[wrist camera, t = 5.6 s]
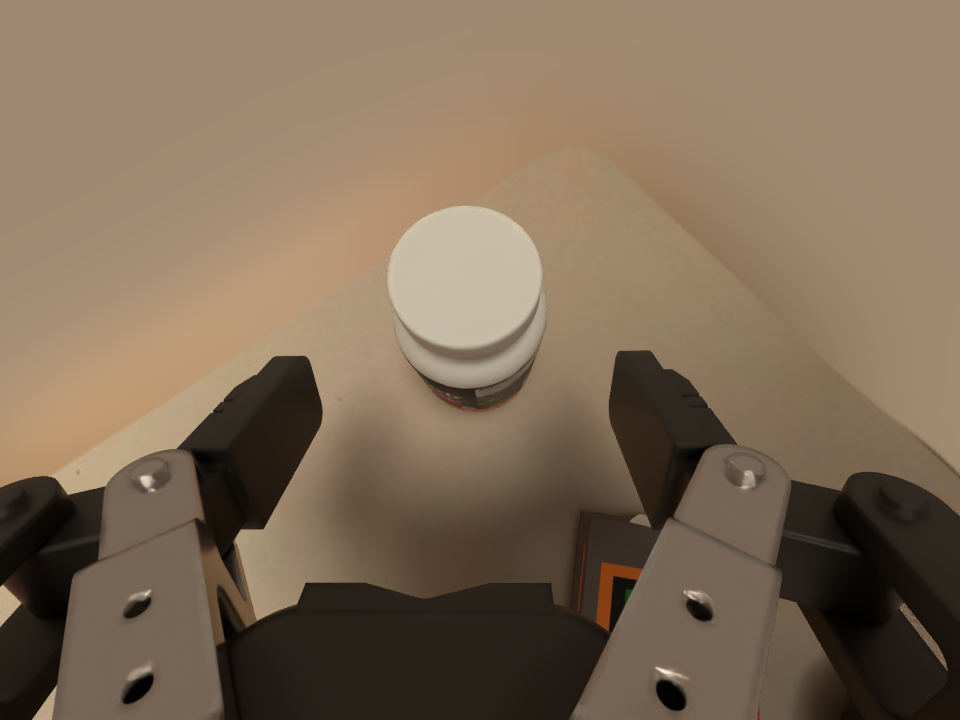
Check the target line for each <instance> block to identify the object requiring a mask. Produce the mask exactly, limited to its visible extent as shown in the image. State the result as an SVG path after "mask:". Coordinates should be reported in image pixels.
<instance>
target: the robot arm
mask: <svg viewBox="0 0 960 720" xmlns="http://www.w3.org/2000/svg"><path fill="white" fill-rule="evenodd" d="M322 413H323V411H322V403H321V400H320V396H319V392H318V389H317V385H316V382H315V378H314V374H313V371H312V367H311V364H310V361H309V360H308V358H307V357H305V356H275V357H273V358H272V359H271V360H270V361H269V362H268V363H267V364H266V365H265V367H264V368H263V369H262V370H261V371H260V372H259V373H258V374H257V375H254V376H252V377H251V378H249V379H247V380H246V381H244V382H243V383H241V384H239V385H238V386H236V387H235V388H234V389H233V390H232V391H231V392H230V393H229V394H228V395H227V396H226V397H225V399H224V402H221V403H220V404H219V405H218V406H217V407H216V408H215V409H214V410H213V413H210V414H209V415H208V416H207V417H206V419H205V420H204V421H203V422H202V423H201V424H200V425H199V426H198V427H197V428H196V429H195V430H194V431H193V432H192V433H191V434H190V435H189V436H188V437H187V439H186V440H185V441H184V442H183V443H182V444H181V445H180V446H179V447H178V448H177V449H171V450H164V451H159V452H156V453H152V454H149V455H147V456H144V457H142V458H140V459H138V460H136V461H134V462H132V463H130V464H129V465H127V466H126V467H124V468H123V469H121V470H120V471H119V472H118V473H116V474H115V475H114V476H113V477H112V478H111V480H110V481H109V482H108V484H107V485H106V487H101V488H97V489H92V490H88V491H83V492H79V493H75V494H70V495H68V494H67V493H66V492H65V490H64V489H63V488H62V486H61V485H60V484H59V482H58V481H57V480H56V479H55V478H52V477H48V476H40V477H32V478H27V479H24V480H20V481H17V482H14V483H11V484H9V485H6V486H3V487H1V488H0V587H1V586H2V585H4V586H5V587H6V588H7V589H8V590H9V591H10V592H11V593H12V594H13V595H14V596H15V597H16V598H17V599H18V600H19V601H20V602H21V603H22V604H21V605H20V606H19V607H18V608H17V609H16V610H15V611H14V613H13V614H12V615H11V616H10V617H9V618H8V619H7V620H6V621H5V622H4V624H3V625H2V626H1V627H0V720H32V719H33V717H34V716H35V714H36V713H37V712H38V710H39V709H40V707H41V706H42V705H43V703H44V702H45V701H46V699H47V698H48V696H49V695H50V694H51V692H52V691H53V689H54V688H55V687H56V685H57V689H56V696H55V704H54V711H53V718H52V720H756V719H757V713H758V708H759V703H760V697H761V692H762V686H763V681H764V675H765V670H766V664H767V659H768V653H769V648H770V642H771V637H772V631H773V626H774V620H775V615H776V609H777V604H778V598H779V597H780V598H783V599H787V600H790V601H793V602H797V604H798V606H799V607H800V609H801V611H802V613H803V614H804V616H805V618H806V620H807V621H808V623H809V625H810V627H811V629H812V630H813V632H814V634H815V636H816V637H817V639H818V641H819V643H820V644H821V646H822V648H823V650H824V651H825V653H826V655H827V657H828V658H829V660H830V662H831V664H832V665H833V667H834V669H835V671H836V672H837V674H838V676H839V678H840V679H841V681H842V683H843V685H844V686H845V688H846V690H847V692H848V693H849V695H850V697H851V699H852V700H853V702H854V704H855V706H856V707H857V709H858V711H859V713H860V715H861V716H862V718H863V720H960V516H959V515H958V514H957V513H956V512H954V511H953V510H952V509H951V508H950V507H949V506H948V505H947V504H945V503H944V502H943V501H942V500H941V499H939V498H938V497H936V496H935V495H933V494H932V493H930V492H928V491H927V490H925V489H923V488H921V487H919V486H917V485H915V484H913V483H911V482H908V481H906V480H903V479H901V478H898V477H895V476H891V475H887V474H882V473H876V472H860V473H856V474H853V475H851V476H850V477H849V478H848V480H847V481H846V483H845V485H844V487H843V488H842V490H841V491H839V490H835V489H830V488H825V487H820V486H816V485H811V484H806V483H802V482H797V481H793V480H790V478H789V476H788V474H787V473H786V471H785V470H784V469H783V468H782V467H781V466H780V465H779V464H778V463H777V462H775V461H774V460H773V459H771V458H770V457H768V456H766V455H765V454H763V453H761V452H759V451H756V450H754V449H751V448H748V447H744V446H740V445H738V444H737V443H736V442H735V441H734V439H733V438H732V437H731V435H730V434H729V433H728V431H727V430H726V429H725V427H724V426H723V425H722V423H721V422H720V421H719V419H718V418H717V417H716V415H715V414H714V413H713V411H712V410H711V409H710V408H708V405H707V404H706V402H705V401H704V400H703V398H702V397H699V393H698V392H697V390H696V389H695V388H694V386H693V385H692V384H691V382H690V381H689V380H687V379H686V378H684V377H683V376H681V375H680V374H678V373H677V372H675V371H674V370H672V369H663V368H662V366H661V365H660V363H659V362H658V361H657V359H656V358H655V356H654V355H653V353H652V352H651V351H649V350H646V351H619V352H618V353H617V355H616V359H615V365H614V372H613V378H612V385H611V392H610V398H609V418H610V423H611V426H612V429H613V431H614V434H615V436H616V439H617V441H618V444H619V446H620V449H621V451H622V454H623V457H624V459H625V462H626V464H627V467H628V469H629V472H630V474H631V477H632V479H633V482H634V485H635V487H636V490H637V492H638V495H639V497H640V500H641V502H642V505H643V507H644V510H645V513H646V515H647V518H648V520H649V523H650V525H651V528H652V530H662V531H661V533H660V535H659V537H658V539H657V541H656V543H655V545H654V547H653V549H652V551H651V554H650V556H649V558H648V560H647V562H646V564H645V566H644V568H643V570H642V572H641V574H640V576H639V578H638V580H637V582H636V584H635V586H634V589H633V591H632V593H631V595H630V597H629V599H628V601H627V603H626V605H625V607H624V609H623V611H622V613H621V615H620V617H619V619H618V621H617V624H616V626H615V628H614V630H613V632H612V634H611V633H610V632H609V631H607V630H606V629H605V628H603V627H602V626H600V625H599V624H598V623H596V622H595V621H593V620H591V619H589V618H587V617H586V616H584V615H582V614H580V613H578V612H575V611H573V610H571V609H568V608H566V607H563V606H559V605H556V604H554V603H553V595H552V588H551V583H488V584H484V585H480V586H477V587H473V588H469V589H465V590H461V591H457V592H453V593H449V594H445V595H441V596H437V597H434V598H429V599H422V598H417V597H413V596H410V595H406V594H403V593H399V592H396V591H392V590H389V589H385V588H382V587H378V586H375V585H371V584H367V583H306V584H305V586H304V589H303V591H302V594H301V596H300V599H299V601H298V604H297V605H293V606H290V607H287V608H284V609H282V610H279V611H276V612H274V613H272V614H270V615H268V616H266V617H264V618H262V619H260V620H258V621H257V619H256V616H255V613H254V609H253V605H252V601H251V597H250V593H249V589H248V585H247V581H246V577H245V573H244V569H243V565H242V561H241V557H240V553H239V549H238V546H237V544H236V542H235V540H234V539H235V538H236V536H237V534H238V533H239V531H240V530H241V529H264V527H265V525H266V524H267V522H268V520H269V518H270V516H271V515H272V513H273V511H274V509H275V507H276V506H277V504H278V502H279V500H280V498H281V496H282V495H283V493H284V491H285V489H286V487H287V486H288V484H289V482H290V480H291V478H292V477H293V475H294V473H295V471H296V469H297V468H298V466H299V464H300V462H301V460H302V459H303V457H304V455H305V453H306V451H307V450H308V448H309V446H310V444H311V442H312V440H313V439H314V437H315V435H316V433H317V431H318V430H319V428H320V425H321V422H322ZM903 603H905V604H906V605H907V606H908V608H909V609H910V610H911V611H912V613H913V614H914V615H915V617H916V618H917V619H918V620H919V622H920V623H921V624H922V625H923V627H924V628H925V629H926V630H927V632H928V633H929V634H930V635H931V637H932V638H933V639H934V641H935V642H936V643H937V645H938V646H939V648H940V650H941V651H942V653H943V656H944V658H945V661H946V664H947V668H948V671H947V670H946V669H945V667H944V666H943V665H942V664H941V662H940V661H939V660H938V658H937V657H936V656H935V654H934V653H933V652H932V651H931V649H930V648H929V647H928V645H927V644H926V643H925V641H924V640H923V639H922V638H921V636H920V635H919V634H918V632H917V631H916V630H915V628H914V627H913V626H912V625H911V623H910V622H909V621H908V619H907V618H906V617H905V616H904V614H903V613H902V612H901V610H900V609H899V607H900V606H901V605H902V604H903Z"/></svg>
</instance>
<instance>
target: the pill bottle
mask: <svg viewBox="0 0 960 720" xmlns="http://www.w3.org/2000/svg"><path fill="white" fill-rule="evenodd" d="M542 281H543V272H542V264H541V260H540V256H539V254H538V251H537V249H536V247H535V244H534V243H533V241H532V239H531V238H530V236H529V235H528V234H527V233H526V231H525V230H524V229H523V228H522V227H521V226H519V225H518V224H517V223H516V222H515V221H513V220H512V219H510V218H509V217H507V216H506V215H503V214H501V213H499V212H497V211H494V210H491V209H488V208H483V207H478V206H455V207H449V208H445V209H442V210H439V211H436V212H434V213H431V214H429V215H427V216H425V217H424V218H422V219H420V220H419V221H418V222H416V223H415V224H414V225H412V226H411V227H410V228H409V229H408V230H407V231H406V232H405V234H404V235H403V236H402V237H401V238H400V240H399V242H398V243H397V245H396V247H395V248H394V250H393V252H392V255H391V257H390V260H389V265H388V270H387V289H388V294H389V298H390V302H391V305H392V307H393V326H394V331H395V335H396V338H397V341H398V344H399V346H400V348H401V351H402V353H403V354H404V356H405V357H406V359H407V360H408V362H409V363H410V364H411V365H412V367H413V368H414V369H415V370H416V371H417V372H418V373H419V375H420V376H421V377H422V379H423V380H424V381H425V383H426V384H427V385H428V386H429V387H430V389H431V390H432V391H433V392H434V393H435V394H436V395H437V396H438V397H439V398H440V399H442V400H443V401H444V402H446V403H447V404H449V405H451V406H453V407H456V408H458V409H462V410H467V411H485V410H489V409H493V408H496V407H499V406H501V405H503V404H504V403H506V402H507V401H509V400H510V399H511V398H513V397H514V396H515V395H516V394H517V393H518V392H519V390H520V389H521V388H522V386H523V385H524V383H525V381H526V380H527V378H528V376H529V373H530V371H531V368H532V365H533V362H534V360H535V357H536V354H537V352H538V350H539V346H540V343H541V340H542V337H543V334H544V331H545V327H546V321H547V305H546V298H545V293H544V290H543V287H542Z"/></svg>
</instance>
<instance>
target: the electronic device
mask: <svg viewBox="0 0 960 720" xmlns="http://www.w3.org/2000/svg"><path fill="white" fill-rule="evenodd" d="M661 531H662V530H652V528H651V525H650V523H649V520H648V518H647V515H646V514H638V515H637V516H636V517H634V518H633V519H630V518H624V517H618V516H612V515H606V514H600V513H594V512H588V511H582V510H581V514H580V524H579V533H578V543H577V553H576V562H575V572H574V582H573V592H572V601H571V610H573V611H575V612H578V613H580V614H582V615H584V616H586V617H587V618H589V619H591V620H593V621H595V622H596V623H598V624H599V625H600V626H602V627H603V628H605V629H606V630H607V631H609V632H610V633H611V634H612V632H613V630H614V628H615V626H616V624H617V621H618V619H619V617H620V615H621V613H622V611H623V609H624V607H625V605H626V603H627V601H628V599H629V597H630V595H631V593H632V591H633V589H634V586H635V584H636V582H637V580H638V578H639V576H640V574H641V572H642V570H643V568H644V566H645V564H646V562H647V560H648V558H649V556H650V554H651V551H652V549H653V547H654V545H655V543H656V541H657V539H658V537H659V535H660V533H661ZM756 720H759V708H758V713H757V719H756Z"/></svg>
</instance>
